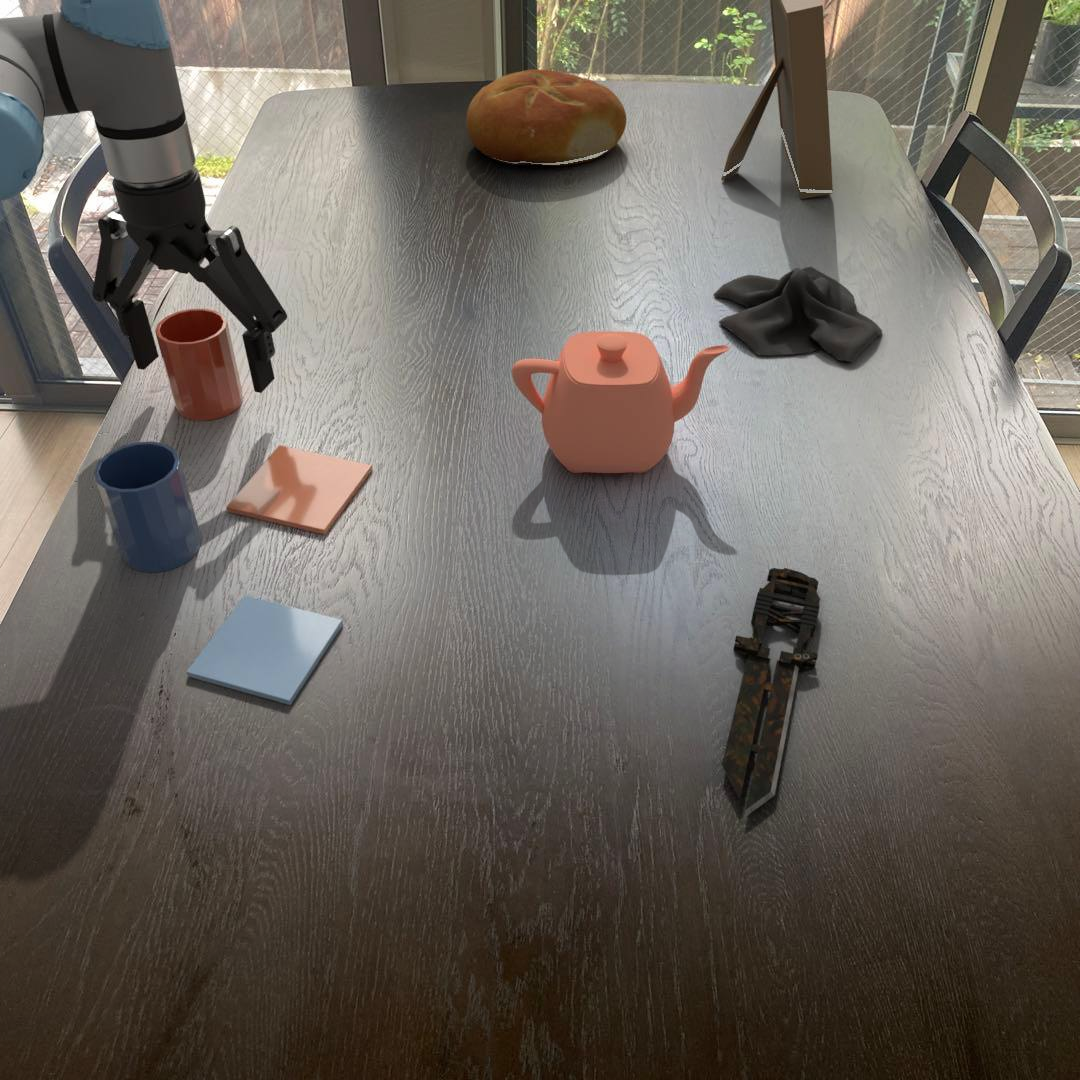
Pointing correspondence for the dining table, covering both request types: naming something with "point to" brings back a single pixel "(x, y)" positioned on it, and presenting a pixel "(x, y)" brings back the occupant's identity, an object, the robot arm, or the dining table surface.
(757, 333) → the cloth
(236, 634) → the blue pad
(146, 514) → the blue cup
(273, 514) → the red pad
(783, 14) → the photo frame
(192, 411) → the red cup
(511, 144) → the bread
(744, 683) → the knife
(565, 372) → the teapot
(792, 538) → the dining table surface
